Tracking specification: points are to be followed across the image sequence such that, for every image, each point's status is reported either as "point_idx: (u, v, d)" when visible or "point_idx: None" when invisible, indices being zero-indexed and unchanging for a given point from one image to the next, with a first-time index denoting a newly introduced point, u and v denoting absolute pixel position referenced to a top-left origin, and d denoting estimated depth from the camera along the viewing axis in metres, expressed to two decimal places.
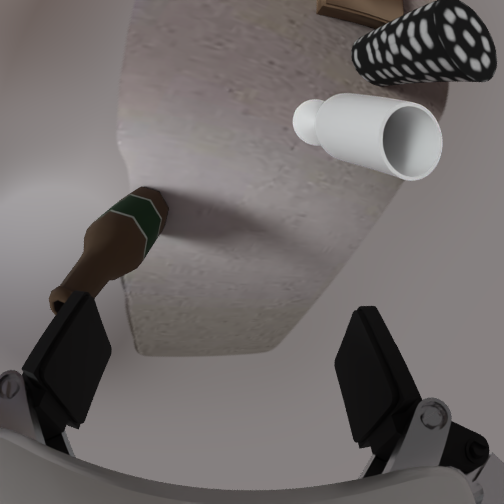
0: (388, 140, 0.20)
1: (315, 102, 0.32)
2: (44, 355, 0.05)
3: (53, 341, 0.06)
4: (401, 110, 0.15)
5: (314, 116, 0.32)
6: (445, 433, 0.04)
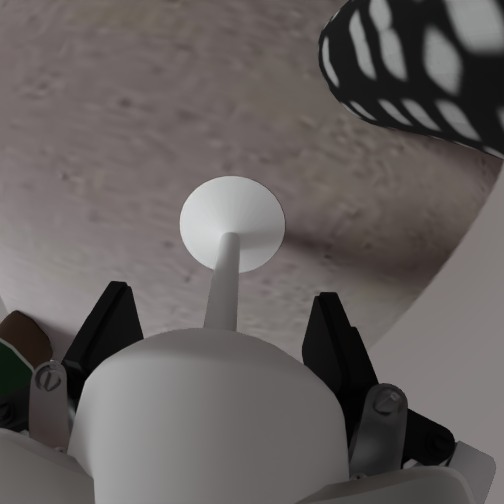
0: None
1: (224, 185, 0.16)
2: (88, 343, 0.06)
3: (96, 330, 0.07)
4: None
5: (217, 226, 0.15)
6: (404, 417, 0.05)
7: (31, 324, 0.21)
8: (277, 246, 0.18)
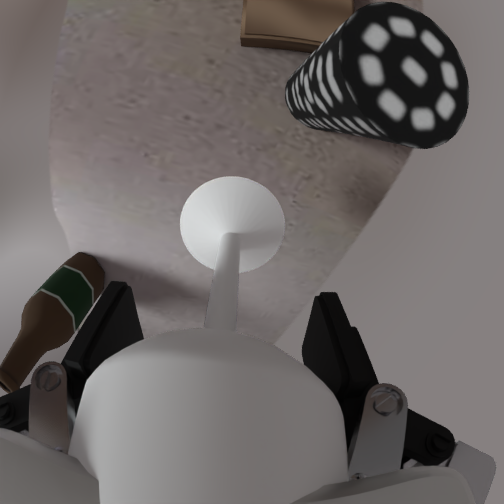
0: None
1: (224, 185, 0.16)
2: (88, 343, 0.06)
3: (96, 330, 0.07)
4: None
5: (217, 226, 0.16)
6: (404, 417, 0.05)
7: (94, 260, 0.36)
8: (277, 246, 0.18)
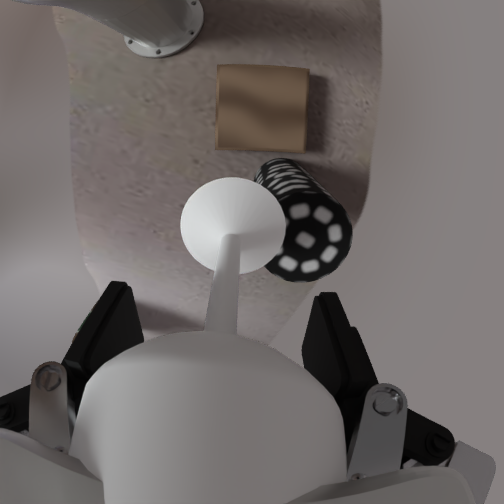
0: None
1: (225, 186, 0.16)
2: (88, 343, 0.06)
3: (96, 330, 0.07)
4: None
5: (218, 227, 0.16)
6: (403, 417, 0.05)
7: None
8: (278, 247, 0.18)
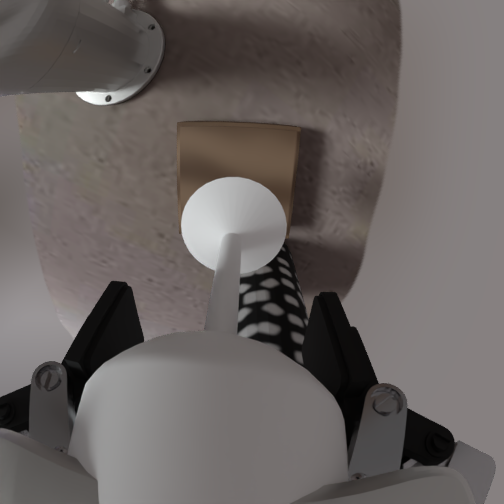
0: None
1: (226, 186, 0.16)
2: (88, 343, 0.06)
3: (96, 330, 0.07)
4: None
5: (218, 227, 0.15)
6: (403, 417, 0.05)
7: None
8: (278, 247, 0.18)
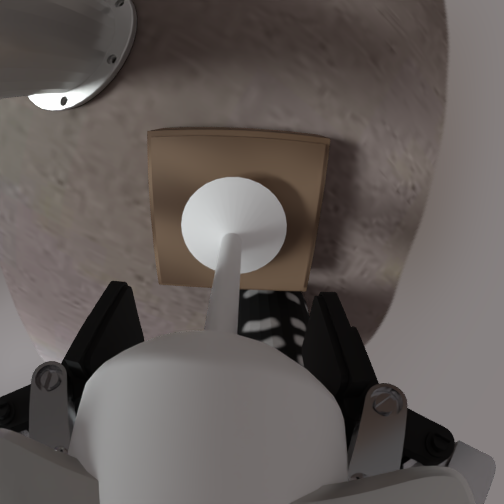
0: None
1: (226, 186, 0.16)
2: (88, 343, 0.06)
3: (97, 330, 0.07)
4: None
5: (218, 227, 0.15)
6: (403, 417, 0.05)
7: None
8: (279, 247, 0.18)
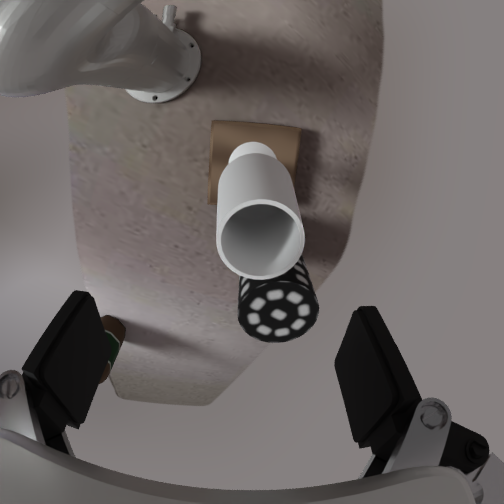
0: None
1: (251, 145, 0.34)
2: (43, 354, 0.05)
3: (53, 341, 0.06)
4: None
5: None
6: (445, 433, 0.04)
7: (117, 321, 0.54)
8: None
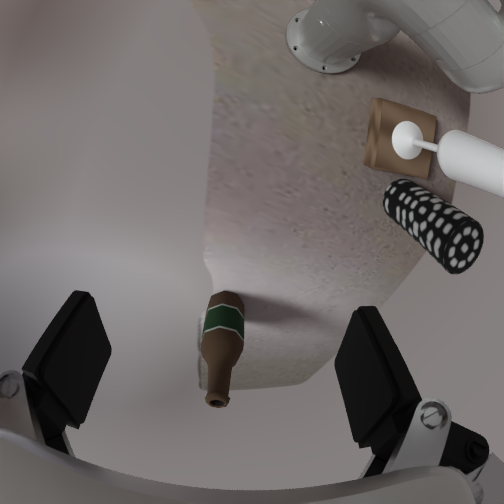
0: None
1: (408, 123, 0.35)
2: (44, 355, 0.05)
3: (53, 341, 0.06)
4: None
5: (410, 136, 0.35)
6: (445, 433, 0.04)
7: None
8: (420, 150, 0.38)
